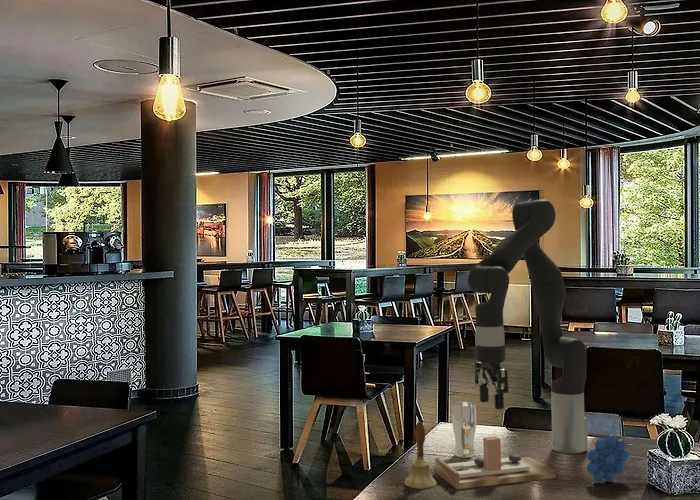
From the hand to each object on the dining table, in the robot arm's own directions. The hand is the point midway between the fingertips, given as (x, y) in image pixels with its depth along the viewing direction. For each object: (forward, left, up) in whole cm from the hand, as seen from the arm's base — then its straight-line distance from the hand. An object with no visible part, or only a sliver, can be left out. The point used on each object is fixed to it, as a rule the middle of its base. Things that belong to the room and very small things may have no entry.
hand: (491, 405), depth 183 cm
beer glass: (-2, -22, -20) cm, 30 cm away
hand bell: (+19, -3, -20) cm, 27 cm away
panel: (+1, -3, -18) cm, 18 cm away
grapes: (-27, +10, -20) cm, 35 cm away
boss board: (-2, -3, -19) cm, 20 cm away
